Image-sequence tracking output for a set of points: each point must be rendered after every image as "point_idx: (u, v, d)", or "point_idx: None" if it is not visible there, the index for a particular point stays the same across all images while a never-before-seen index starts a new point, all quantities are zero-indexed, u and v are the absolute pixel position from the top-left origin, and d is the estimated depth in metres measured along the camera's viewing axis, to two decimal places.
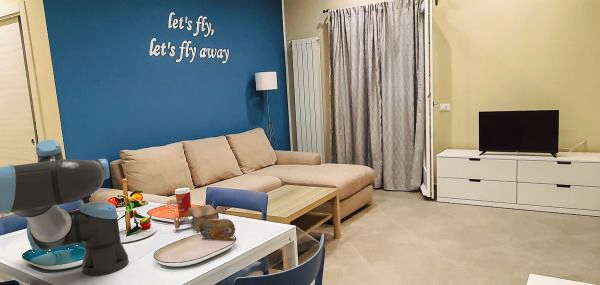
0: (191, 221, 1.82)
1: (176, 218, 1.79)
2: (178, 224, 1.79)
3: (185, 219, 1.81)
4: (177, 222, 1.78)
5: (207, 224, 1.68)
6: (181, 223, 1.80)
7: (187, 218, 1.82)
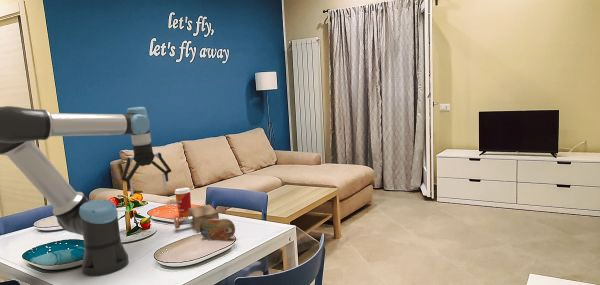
0: (191, 221, 1.82)
1: (176, 218, 1.79)
2: (178, 224, 1.79)
3: (185, 219, 1.81)
4: (177, 222, 1.78)
5: (207, 224, 1.68)
6: (181, 223, 1.80)
7: (187, 218, 1.82)
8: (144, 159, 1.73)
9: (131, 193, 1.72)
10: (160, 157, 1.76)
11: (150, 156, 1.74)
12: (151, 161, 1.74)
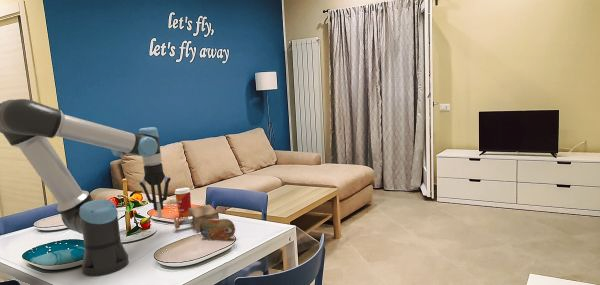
0: (191, 221, 1.82)
1: (176, 218, 1.79)
2: (178, 224, 1.79)
3: (185, 219, 1.81)
4: (177, 222, 1.78)
5: (207, 224, 1.68)
6: (181, 223, 1.80)
7: (187, 218, 1.82)
8: (154, 177, 1.74)
9: None
10: (167, 182, 1.76)
11: (161, 175, 1.75)
12: (158, 182, 1.74)
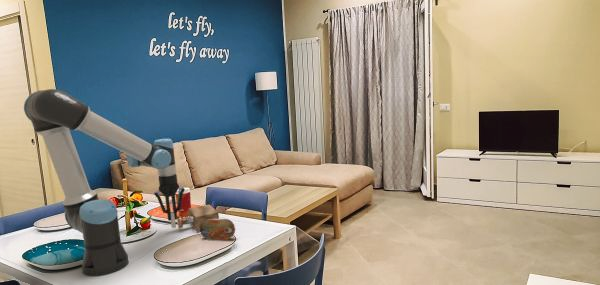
0: None
1: (179, 217, 1.80)
2: (181, 223, 1.79)
3: (188, 218, 1.82)
4: (180, 221, 1.79)
5: (207, 224, 1.68)
6: (184, 222, 1.81)
7: (190, 217, 1.82)
8: (168, 188, 1.77)
9: (171, 225, 1.80)
10: (181, 192, 1.80)
11: (175, 186, 1.78)
12: (173, 193, 1.77)
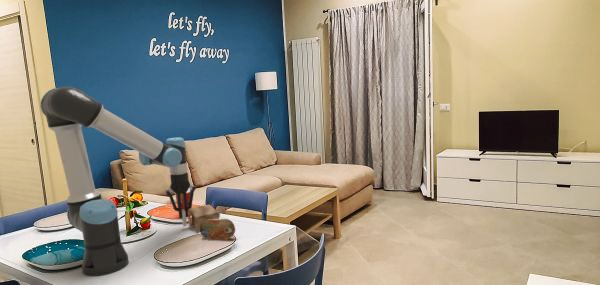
0: None
1: (190, 215, 1.82)
2: (192, 221, 1.81)
3: None
4: (191, 219, 1.81)
5: (207, 224, 1.68)
6: None
7: None
8: (180, 186, 1.79)
9: (182, 222, 1.82)
10: (192, 191, 1.82)
11: (186, 184, 1.80)
12: (184, 191, 1.79)
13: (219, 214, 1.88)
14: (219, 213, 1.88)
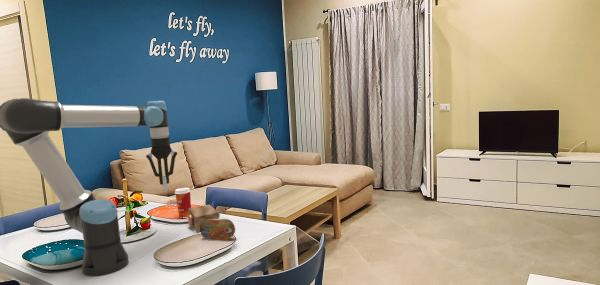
0: None
1: (190, 215, 1.82)
2: (192, 221, 1.81)
3: None
4: (191, 219, 1.81)
5: (207, 224, 1.68)
6: None
7: None
8: (161, 151, 1.74)
9: (163, 189, 1.76)
10: (174, 156, 1.76)
11: (167, 149, 1.75)
12: (165, 156, 1.74)
13: (219, 214, 1.87)
14: None
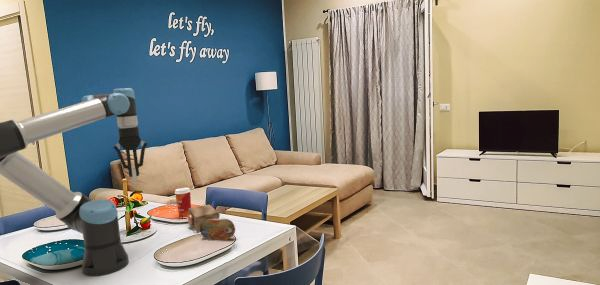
0: None
1: (190, 215, 1.82)
2: (192, 221, 1.81)
3: None
4: (191, 219, 1.81)
5: (207, 224, 1.68)
6: None
7: None
8: (129, 141, 1.65)
9: (133, 181, 1.67)
10: (143, 147, 1.67)
11: (136, 139, 1.66)
12: (134, 147, 1.65)
13: (219, 214, 1.87)
14: None
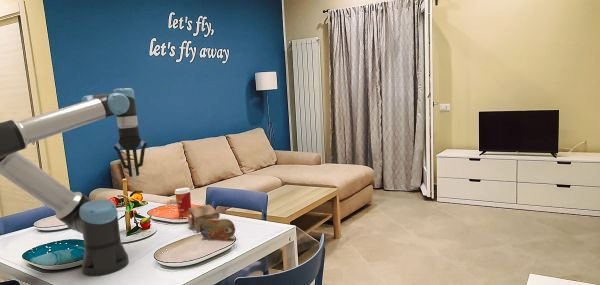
0: None
1: (190, 215, 1.82)
2: (192, 221, 1.81)
3: None
4: (191, 219, 1.81)
5: (207, 224, 1.68)
6: None
7: None
8: (129, 141, 1.65)
9: (133, 181, 1.67)
10: (143, 147, 1.67)
11: (136, 139, 1.66)
12: (134, 147, 1.65)
13: (219, 214, 1.87)
14: None
